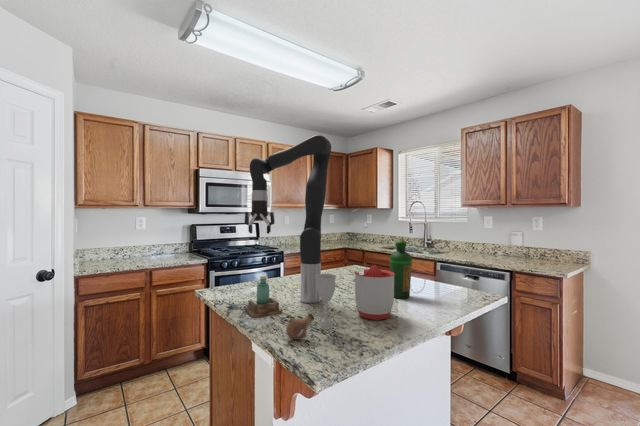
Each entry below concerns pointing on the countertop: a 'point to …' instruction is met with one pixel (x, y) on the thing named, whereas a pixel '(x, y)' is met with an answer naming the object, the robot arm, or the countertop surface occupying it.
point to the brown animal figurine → (298, 327)
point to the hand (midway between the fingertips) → (259, 233)
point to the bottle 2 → (401, 270)
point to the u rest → (263, 308)
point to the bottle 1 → (262, 291)
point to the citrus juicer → (374, 293)
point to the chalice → (326, 295)
